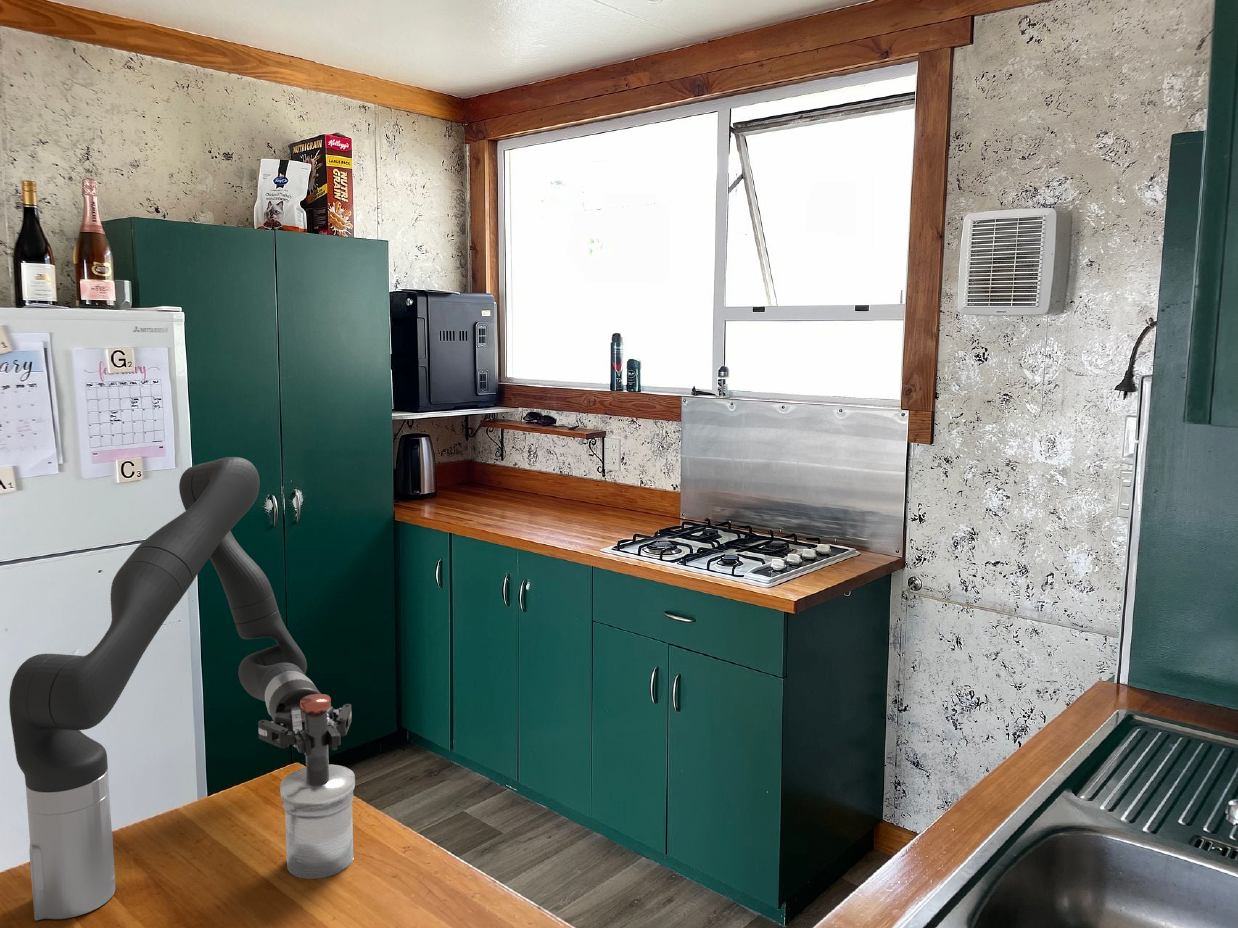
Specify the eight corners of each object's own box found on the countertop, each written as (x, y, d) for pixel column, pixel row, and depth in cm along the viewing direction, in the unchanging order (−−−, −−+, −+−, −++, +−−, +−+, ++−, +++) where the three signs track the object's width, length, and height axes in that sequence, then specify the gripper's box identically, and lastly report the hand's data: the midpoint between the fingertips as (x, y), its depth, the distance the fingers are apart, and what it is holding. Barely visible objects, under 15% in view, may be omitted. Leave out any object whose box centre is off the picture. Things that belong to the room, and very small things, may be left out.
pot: (293, 886, 126) (291, 819, 125) (279, 853, 134) (276, 790, 133) (362, 867, 131) (361, 802, 130) (345, 836, 139) (343, 775, 138)
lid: (289, 813, 124) (285, 719, 122) (273, 782, 133) (270, 693, 131) (363, 795, 129) (361, 705, 127) (344, 766, 138) (342, 681, 136)
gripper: (244, 687, 138) (267, 730, 123) (340, 670, 145) (372, 710, 131) (246, 735, 139) (269, 783, 124) (341, 716, 146) (373, 760, 132)
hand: (321, 745), depth 128 cm, fingers closed on lid, 3 cm apart
